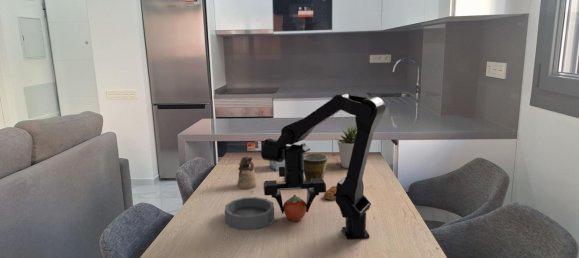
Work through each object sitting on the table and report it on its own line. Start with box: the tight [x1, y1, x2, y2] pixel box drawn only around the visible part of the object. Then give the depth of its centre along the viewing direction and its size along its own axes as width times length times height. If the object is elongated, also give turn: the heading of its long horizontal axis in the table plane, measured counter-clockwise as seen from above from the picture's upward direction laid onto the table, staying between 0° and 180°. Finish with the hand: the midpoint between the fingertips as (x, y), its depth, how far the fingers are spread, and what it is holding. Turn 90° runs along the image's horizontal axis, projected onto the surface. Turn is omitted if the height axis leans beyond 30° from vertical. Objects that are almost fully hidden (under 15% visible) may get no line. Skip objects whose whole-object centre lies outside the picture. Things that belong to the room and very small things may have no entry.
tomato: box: [283, 194, 307, 222], centre depth 122 cm, size 7×7×8 cm
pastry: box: [323, 185, 337, 201], centre depth 140 cm, size 9×7×4 cm
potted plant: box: [335, 124, 357, 169], centre depth 171 cm, size 13×14×20 cm
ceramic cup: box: [304, 153, 328, 183], centre depth 155 cm, size 13×10×10 cm
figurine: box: [237, 155, 258, 190], centre depth 150 cm, size 7×7×12 cm
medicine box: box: [269, 159, 285, 172], centre depth 171 cm, size 8×4×9 cm, turn 25°
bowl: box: [224, 196, 275, 231], centre depth 123 cm, size 15×15×4 cm
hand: (294, 212), depth 122 cm, fingers closed on tomato, 7 cm apart
